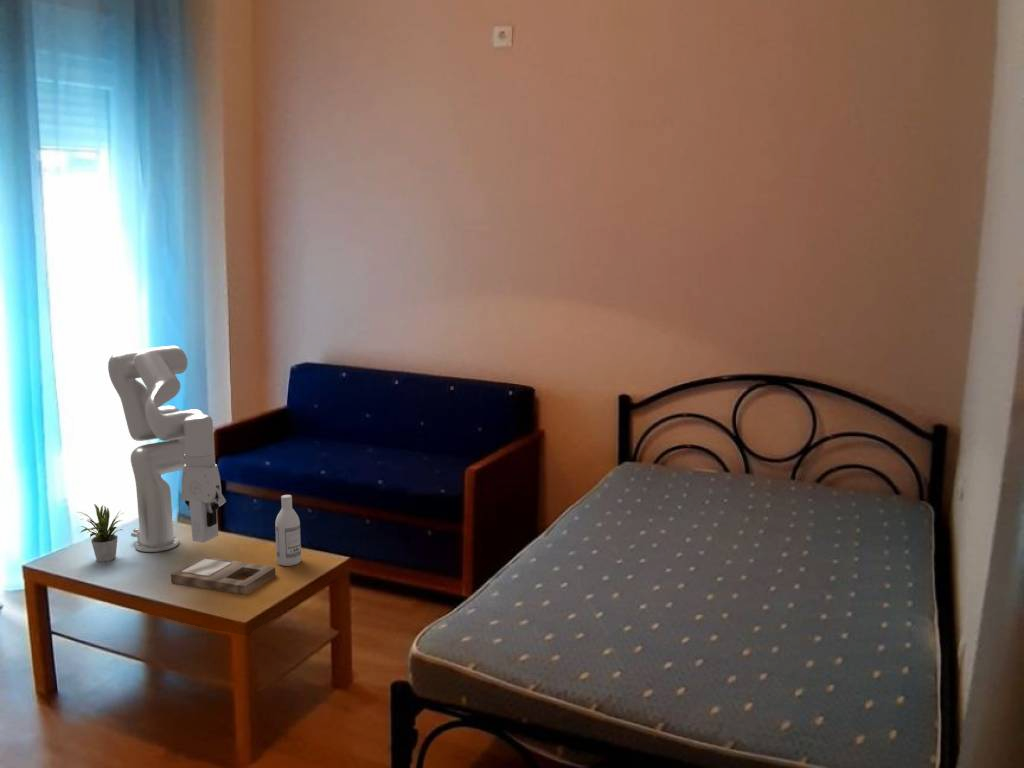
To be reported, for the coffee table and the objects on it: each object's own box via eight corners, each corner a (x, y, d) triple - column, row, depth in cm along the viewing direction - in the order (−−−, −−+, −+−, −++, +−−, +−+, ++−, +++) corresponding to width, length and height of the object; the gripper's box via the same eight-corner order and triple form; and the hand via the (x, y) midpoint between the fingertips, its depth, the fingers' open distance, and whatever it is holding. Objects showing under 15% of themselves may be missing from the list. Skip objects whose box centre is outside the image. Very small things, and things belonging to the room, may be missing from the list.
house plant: (68, 557, 271) (63, 504, 268) (116, 545, 281) (111, 494, 278) (87, 571, 262) (83, 515, 259) (136, 558, 271) (132, 504, 268)
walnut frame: (171, 582, 254) (170, 573, 253) (203, 564, 267) (203, 555, 266) (245, 595, 246) (245, 585, 246) (275, 575, 259) (275, 566, 259)
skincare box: (206, 534, 260) (204, 493, 257) (218, 536, 258) (216, 494, 256) (191, 541, 254) (188, 499, 252) (203, 543, 252) (201, 501, 250)
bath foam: (306, 559, 271) (303, 493, 267) (293, 568, 265) (290, 500, 261) (285, 556, 273) (282, 491, 270) (272, 564, 267) (269, 498, 263)
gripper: (165, 460, 251) (170, 525, 255) (217, 466, 246) (221, 532, 249) (183, 454, 258) (187, 516, 262) (235, 459, 253) (238, 523, 256)
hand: (204, 523), depth 255 cm, fingers closed on skincare box, 4 cm apart
